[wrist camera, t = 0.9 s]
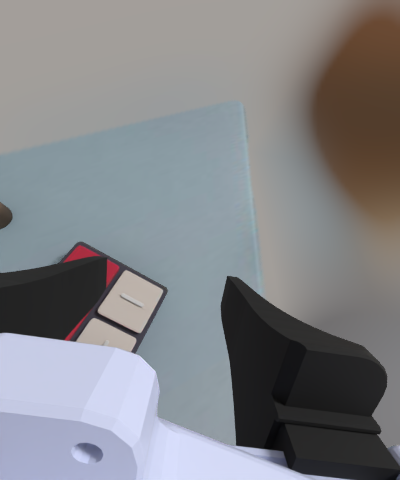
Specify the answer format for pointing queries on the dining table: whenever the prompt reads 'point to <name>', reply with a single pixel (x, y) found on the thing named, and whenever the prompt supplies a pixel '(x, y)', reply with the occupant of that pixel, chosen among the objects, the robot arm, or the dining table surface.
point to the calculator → (118, 305)
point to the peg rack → (4, 216)
